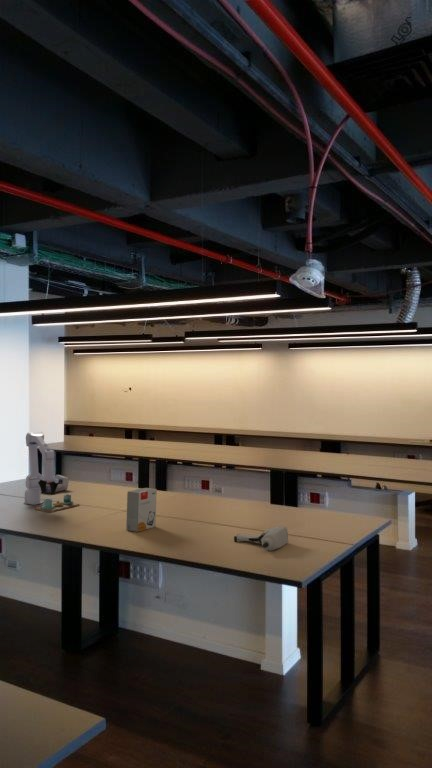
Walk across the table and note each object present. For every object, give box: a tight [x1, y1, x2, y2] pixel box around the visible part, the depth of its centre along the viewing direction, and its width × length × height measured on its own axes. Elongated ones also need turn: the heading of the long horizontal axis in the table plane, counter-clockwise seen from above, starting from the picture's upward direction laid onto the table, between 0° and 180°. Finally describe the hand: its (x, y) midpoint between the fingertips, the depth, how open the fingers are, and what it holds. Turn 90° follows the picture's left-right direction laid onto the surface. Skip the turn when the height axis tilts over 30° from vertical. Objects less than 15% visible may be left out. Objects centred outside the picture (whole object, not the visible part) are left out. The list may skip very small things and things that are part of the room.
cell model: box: [44, 474, 70, 494], centre depth 398 cm, size 13×11×20 cm
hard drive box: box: [125, 487, 157, 533], centre depth 298 cm, size 16×8×20 cm, turn 148°
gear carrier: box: [35, 493, 80, 513], centre depth 345 cm, size 23×13×7 cm, turn 150°
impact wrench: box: [233, 526, 289, 552], centre depth 268 cm, size 8×23×25 cm
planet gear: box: [40, 498, 55, 510], centre depth 339 cm, size 8×8×5 cm
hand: (48, 493), depth 339 cm, fingers open, 7 cm apart
